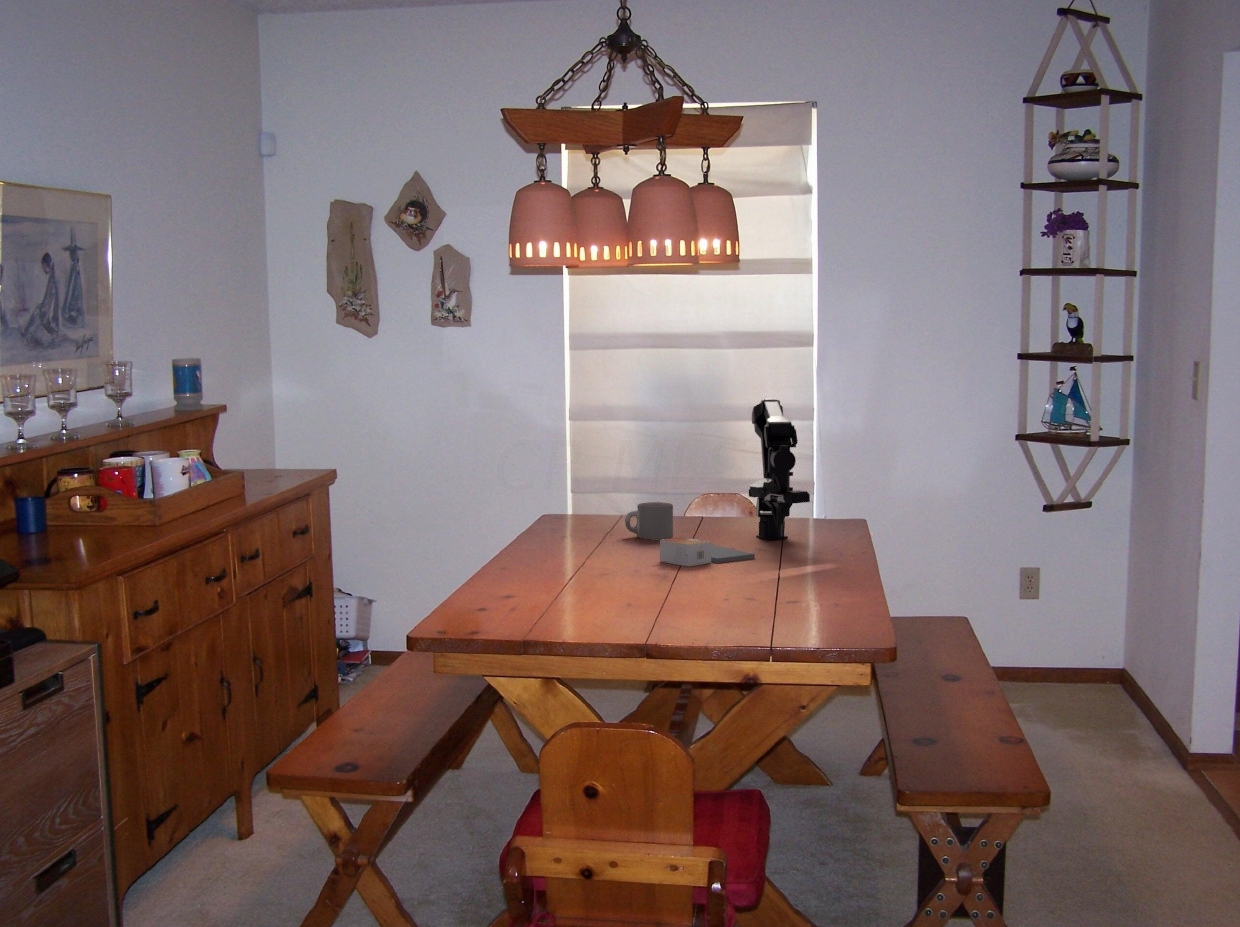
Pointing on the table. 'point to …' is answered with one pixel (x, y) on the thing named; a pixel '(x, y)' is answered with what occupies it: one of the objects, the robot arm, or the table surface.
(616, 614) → the table surface
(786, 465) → the robot arm
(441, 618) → the table surface
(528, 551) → the table surface
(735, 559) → the mat
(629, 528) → the coffee mug
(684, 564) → the small box
